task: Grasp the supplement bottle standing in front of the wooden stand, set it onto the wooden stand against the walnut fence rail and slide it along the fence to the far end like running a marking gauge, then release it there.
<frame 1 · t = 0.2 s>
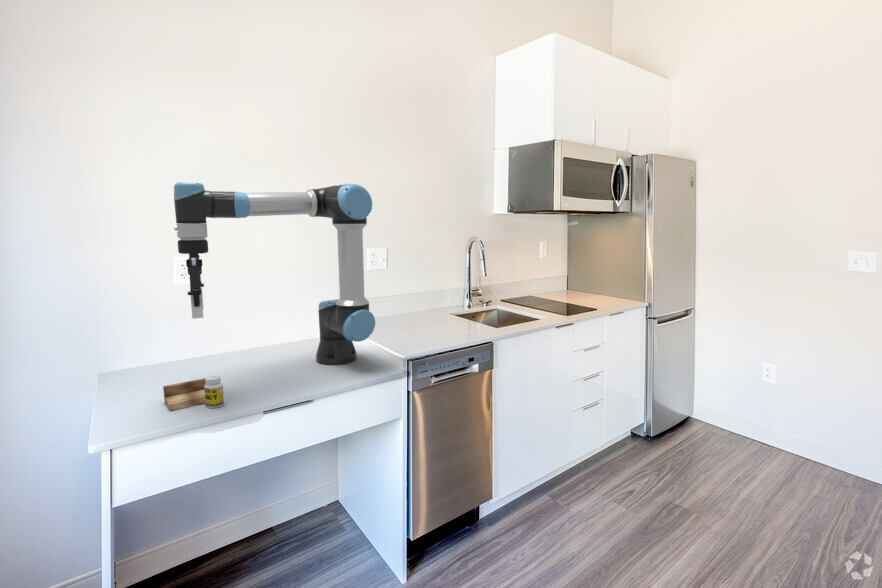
hand: (198, 313, 136), 27 cm above the worktop, fingers open, 13 cm apart
wooden stand: (193, 400, 141), on the worktop
supplement bottle: (215, 405, 138), on the worktop
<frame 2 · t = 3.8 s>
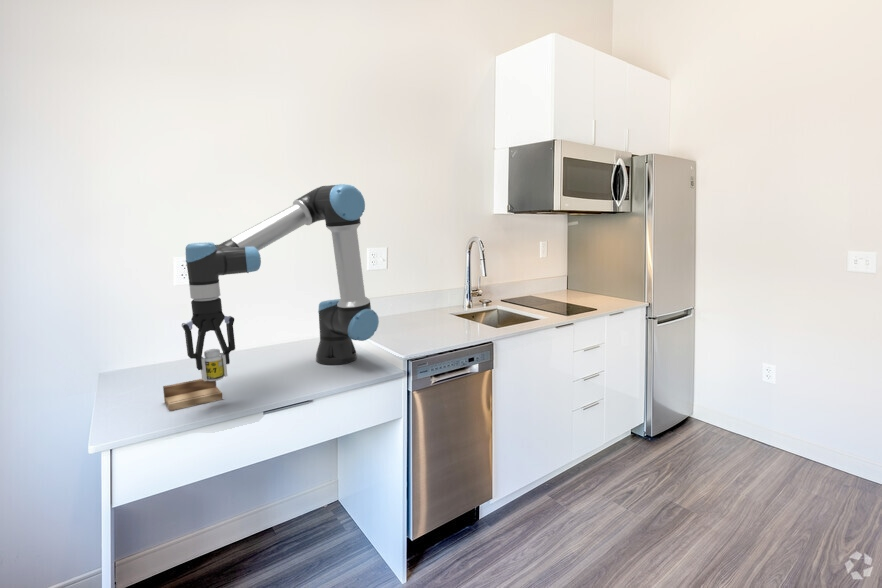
hand: (214, 377, 137), 8 cm above the worktop, fingers closed on supplement bottle, 5 cm apart
supplement bottle: (215, 379, 137), point 8 cm above the worktop, touching gripper
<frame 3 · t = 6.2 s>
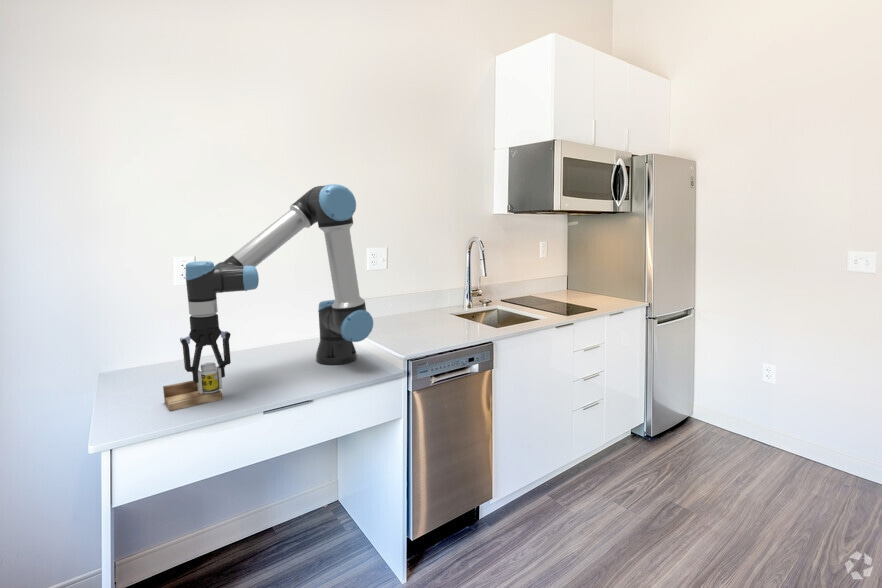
hand: (210, 390, 143), 3 cm above the worktop, fingers closed on supplement bottle, 5 cm apart
supplement bottle: (210, 391, 143), point 2 cm above the worktop, touching gripper
when the fingers open (2 cm above the worktop, at t = 8.7 s): supplement bottle stays where it is, resting on wooden stand.
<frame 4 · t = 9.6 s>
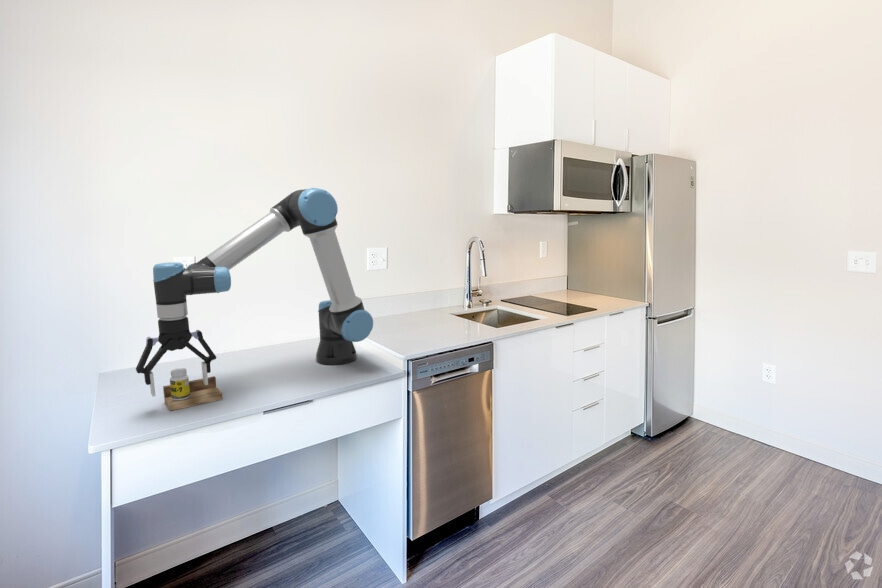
hand: (180, 389, 138), 5 cm above the worktop, fingers open, 13 cm apart
supplement bottle: (181, 398, 138), point 2 cm above the worktop, touching wooden stand
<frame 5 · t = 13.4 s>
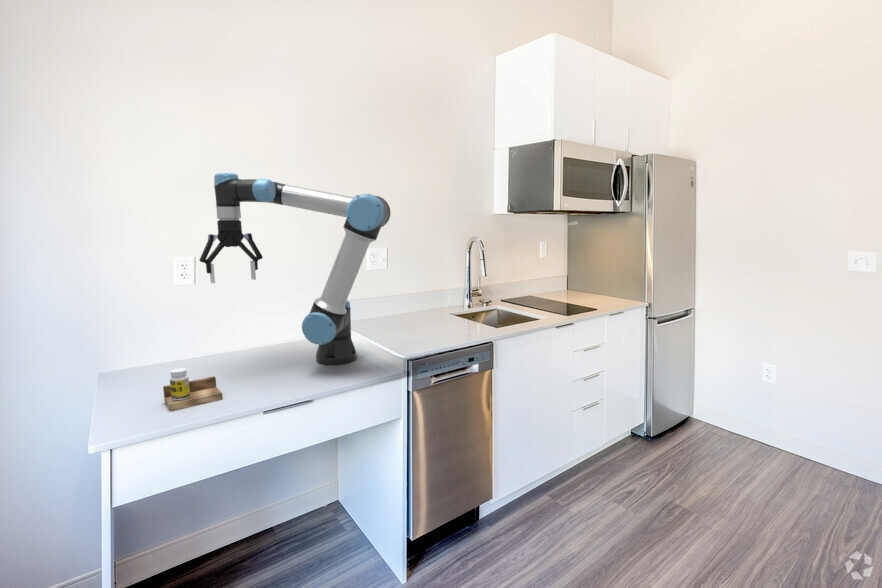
hand: (233, 281, 166), 32 cm above the worktop, fingers open, 13 cm apart
nothing on the worktop moved.
at the end: supplement bottle 0.4 cm from the target spot on the wooden stand, point 1.8 cm above the wooden stand's base; supplement bottle tilted 1°; the gripper is holding nothing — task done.
